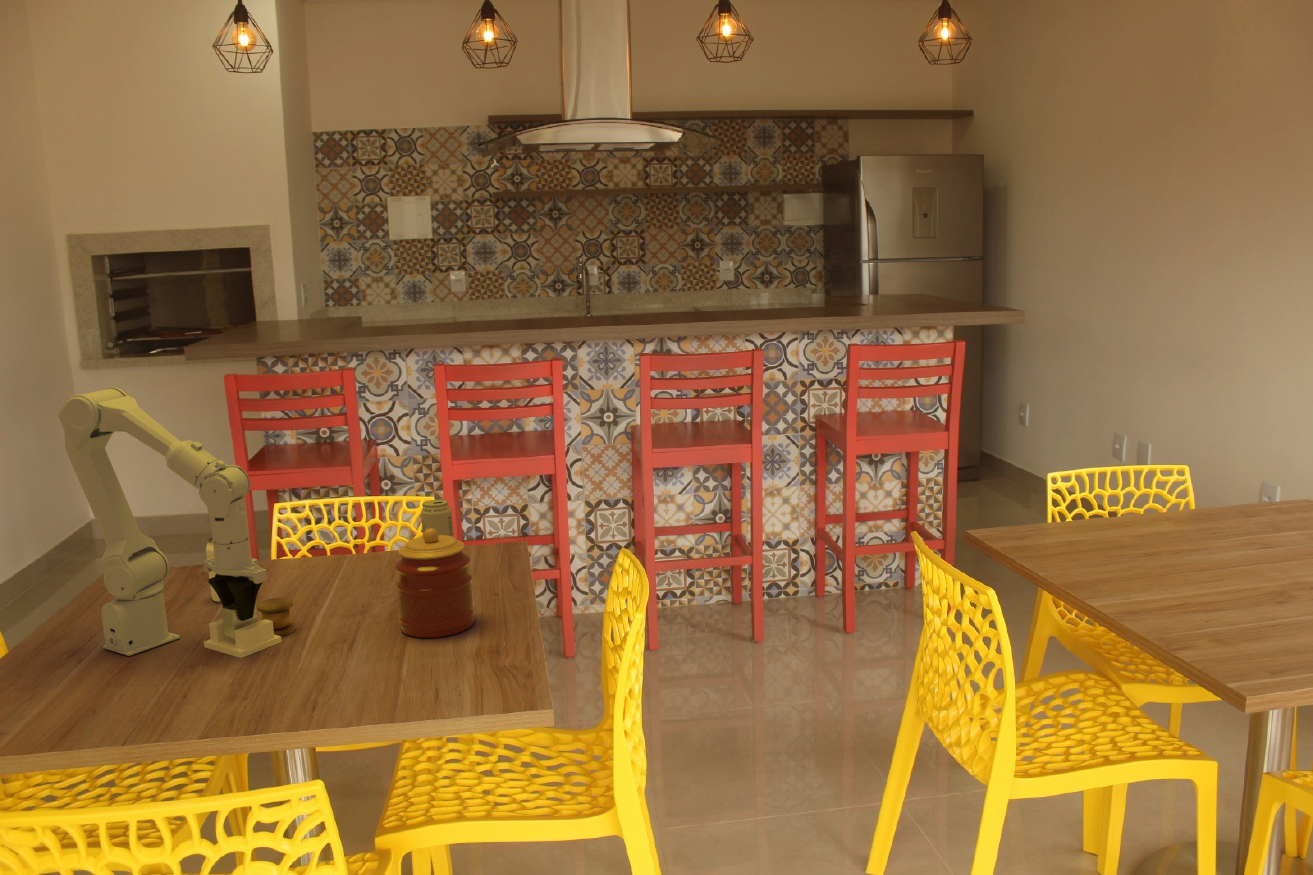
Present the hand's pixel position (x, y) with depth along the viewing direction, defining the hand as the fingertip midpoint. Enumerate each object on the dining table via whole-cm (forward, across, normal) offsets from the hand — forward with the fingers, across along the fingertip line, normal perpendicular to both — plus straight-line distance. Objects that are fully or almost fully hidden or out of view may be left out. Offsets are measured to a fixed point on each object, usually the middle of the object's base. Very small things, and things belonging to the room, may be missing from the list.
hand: (240, 617), depth 178 cm
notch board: (+5, 0, 0) cm, 5 cm away
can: (+5, +24, -14) cm, 29 cm away
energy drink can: (+5, -2, -44) cm, 45 cm away
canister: (+5, -24, -22) cm, 33 cm away
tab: (+3, 0, 0) cm, 3 cm away
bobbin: (+5, 0, -7) cm, 9 cm away
